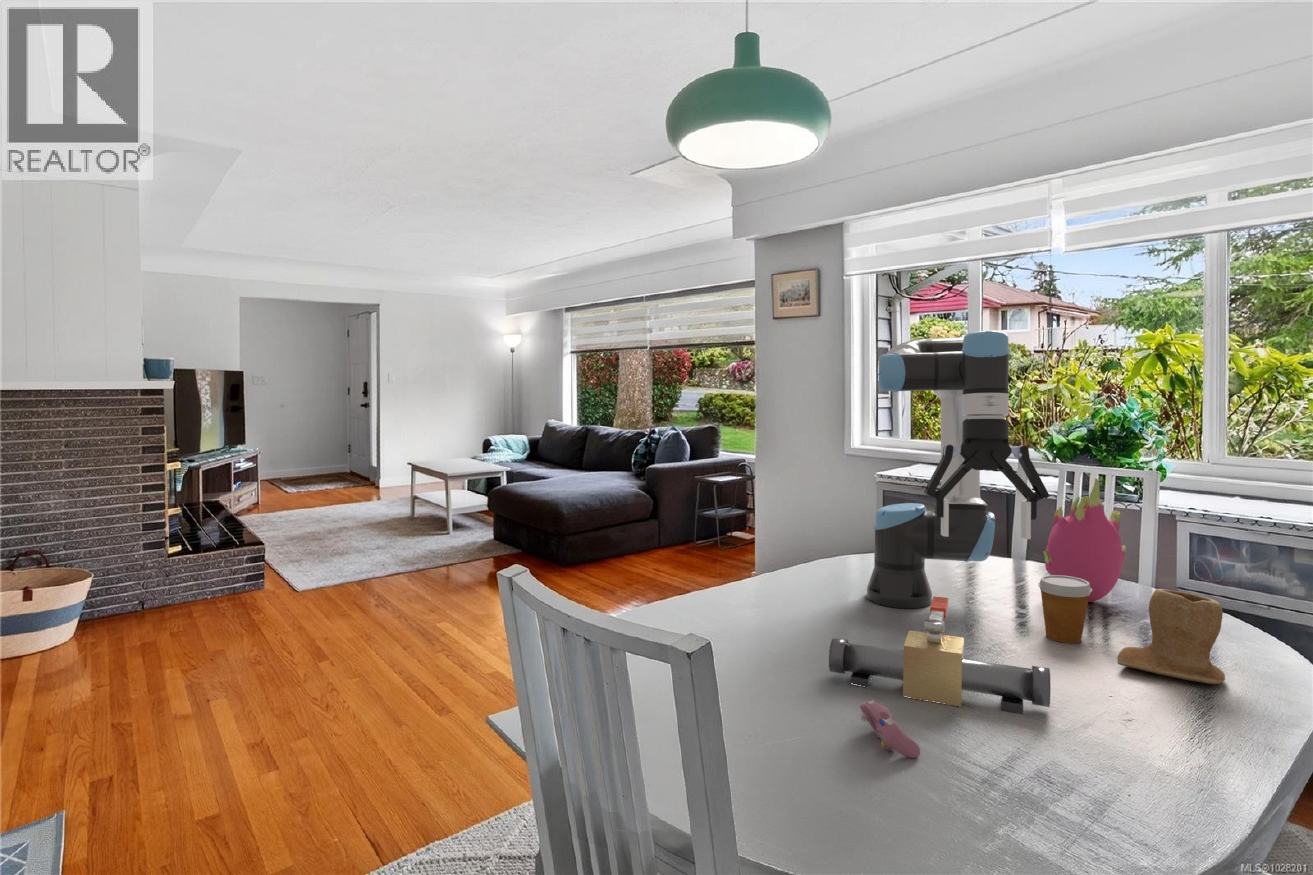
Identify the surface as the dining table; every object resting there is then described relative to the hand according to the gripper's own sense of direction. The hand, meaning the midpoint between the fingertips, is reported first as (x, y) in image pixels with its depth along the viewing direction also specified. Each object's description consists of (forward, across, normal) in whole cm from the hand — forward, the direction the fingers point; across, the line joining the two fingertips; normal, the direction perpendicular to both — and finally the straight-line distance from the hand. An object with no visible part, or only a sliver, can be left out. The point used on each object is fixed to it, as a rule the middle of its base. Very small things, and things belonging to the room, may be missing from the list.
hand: (984, 537), depth 125 cm
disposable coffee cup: (+23, +22, +24) cm, 40 cm away
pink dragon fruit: (+20, +35, +50) cm, 64 cm away
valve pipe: (+26, -10, -7) cm, 29 cm away
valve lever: (+15, -8, -2) cm, 17 cm away
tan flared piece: (+24, +34, +8) cm, 42 cm away
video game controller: (+28, -20, -25) cm, 43 cm away
